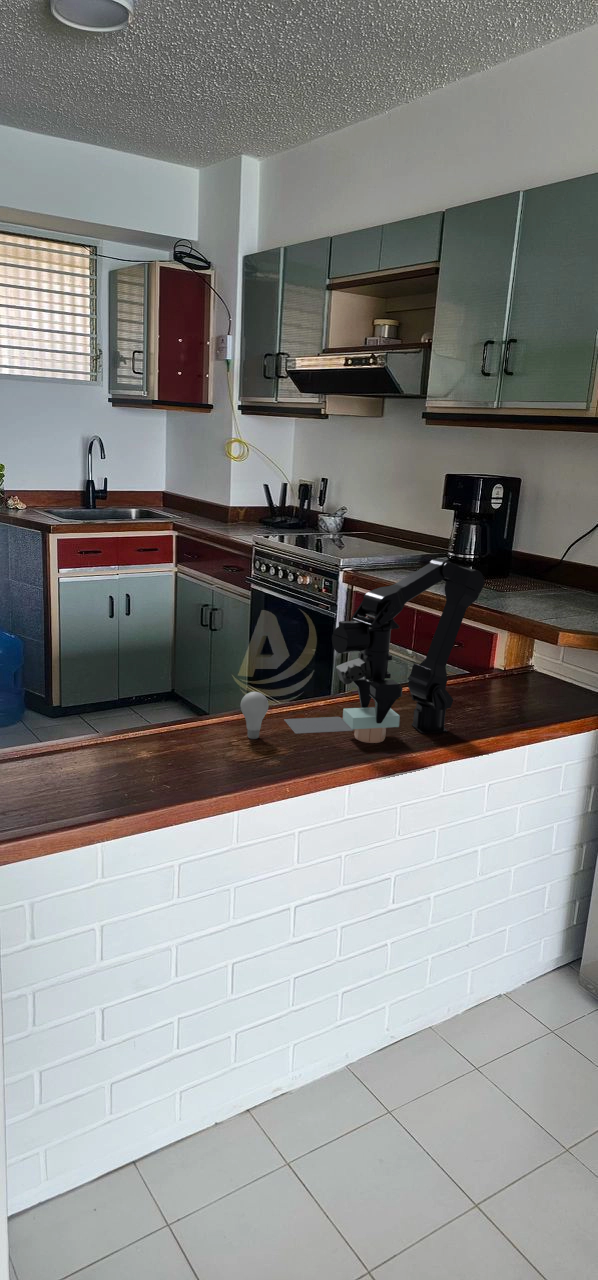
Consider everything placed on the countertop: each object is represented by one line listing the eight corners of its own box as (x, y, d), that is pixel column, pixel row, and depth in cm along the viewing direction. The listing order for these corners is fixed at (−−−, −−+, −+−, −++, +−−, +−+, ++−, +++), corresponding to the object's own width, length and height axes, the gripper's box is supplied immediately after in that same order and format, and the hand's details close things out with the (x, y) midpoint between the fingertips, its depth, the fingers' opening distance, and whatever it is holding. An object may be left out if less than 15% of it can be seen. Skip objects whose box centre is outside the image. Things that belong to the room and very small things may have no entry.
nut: (377, 734, 200) (379, 717, 199) (388, 744, 194) (389, 727, 193) (350, 735, 198) (351, 719, 197) (360, 745, 192) (362, 728, 191)
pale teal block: (387, 717, 200) (388, 706, 199) (398, 727, 194) (399, 715, 193) (342, 719, 197) (343, 708, 196) (352, 729, 190) (353, 717, 190)
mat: (339, 718, 209) (339, 716, 209) (353, 733, 200) (353, 730, 200) (283, 721, 205) (283, 719, 205) (295, 736, 196) (295, 733, 196)
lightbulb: (263, 746, 189) (265, 697, 186) (236, 742, 190) (237, 694, 187) (269, 736, 195) (271, 689, 192) (243, 733, 196) (245, 687, 193)
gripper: (328, 639, 197) (324, 705, 201) (356, 661, 180) (351, 732, 184) (373, 638, 201) (369, 703, 204) (406, 659, 183) (400, 729, 187)
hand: (371, 716), depth 195 cm, fingers open, 9 cm apart
